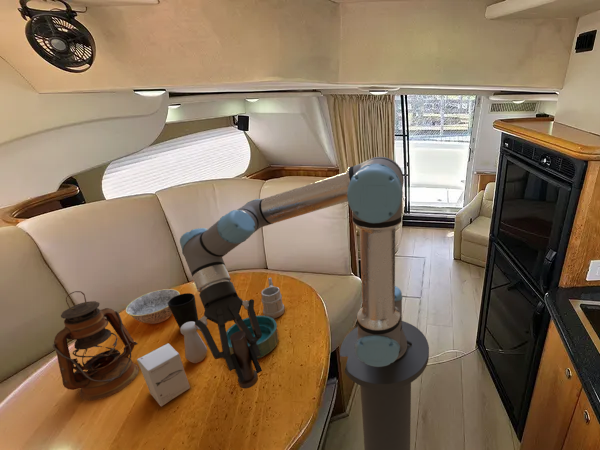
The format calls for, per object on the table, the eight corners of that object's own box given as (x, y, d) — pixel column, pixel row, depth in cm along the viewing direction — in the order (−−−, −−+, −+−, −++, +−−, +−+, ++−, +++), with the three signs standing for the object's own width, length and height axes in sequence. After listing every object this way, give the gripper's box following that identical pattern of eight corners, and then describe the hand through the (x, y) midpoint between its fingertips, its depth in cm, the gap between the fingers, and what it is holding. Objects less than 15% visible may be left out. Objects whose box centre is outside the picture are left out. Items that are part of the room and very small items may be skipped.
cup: (206, 325, 112) (198, 297, 108) (184, 338, 106) (174, 308, 102) (195, 318, 116) (187, 290, 112) (172, 330, 110) (163, 301, 105)
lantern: (126, 354, 99) (92, 272, 88) (156, 364, 96) (124, 279, 85) (59, 399, 84) (7, 306, 73) (90, 412, 81) (41, 317, 70)
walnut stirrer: (261, 374, 79) (251, 329, 74) (253, 388, 75) (242, 342, 69) (244, 373, 79) (233, 328, 74) (235, 388, 75) (223, 342, 70)
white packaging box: (160, 408, 82) (146, 371, 77) (150, 394, 86) (135, 358, 81) (191, 388, 87) (179, 353, 83) (179, 376, 91) (167, 341, 87)
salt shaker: (196, 367, 94) (185, 333, 90) (182, 362, 96) (171, 328, 91) (213, 353, 99) (203, 320, 95) (199, 349, 101) (189, 316, 96)
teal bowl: (286, 329, 110) (283, 315, 108) (267, 364, 95) (264, 348, 93) (242, 329, 110) (239, 315, 108) (217, 363, 96) (213, 347, 94)
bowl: (159, 334, 108) (153, 317, 105) (120, 330, 110) (113, 312, 107) (194, 307, 122) (190, 290, 120) (159, 303, 125) (154, 287, 122)
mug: (263, 321, 114) (257, 293, 110) (264, 303, 124) (259, 277, 120) (285, 316, 117) (280, 289, 112) (284, 299, 127) (280, 273, 123)
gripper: (247, 280, 86) (281, 360, 80) (177, 304, 75) (211, 398, 70) (251, 270, 80) (288, 356, 75) (176, 295, 70) (212, 396, 64)
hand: (251, 376), depth 72 cm, fingers closed on walnut stirrer, 3 cm apart
